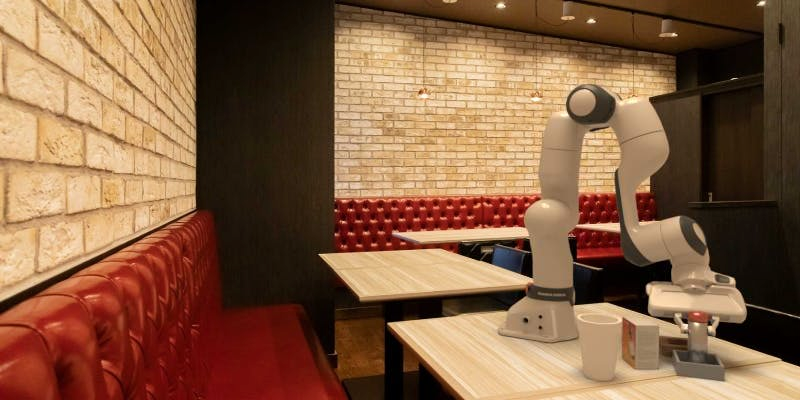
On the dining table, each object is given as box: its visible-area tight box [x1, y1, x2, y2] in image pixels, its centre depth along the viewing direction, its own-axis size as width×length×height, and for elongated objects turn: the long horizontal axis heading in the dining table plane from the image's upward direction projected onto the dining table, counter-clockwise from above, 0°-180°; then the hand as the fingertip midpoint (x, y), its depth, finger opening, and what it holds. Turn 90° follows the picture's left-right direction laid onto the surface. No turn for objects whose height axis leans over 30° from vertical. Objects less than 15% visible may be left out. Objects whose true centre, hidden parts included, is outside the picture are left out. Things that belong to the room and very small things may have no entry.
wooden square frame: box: [659, 335, 688, 357], centre depth 133 cm, size 9×9×2 cm
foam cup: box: [576, 312, 622, 382], centre depth 117 cm, size 10×9×13 cm
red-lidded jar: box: [687, 310, 709, 364], centre depth 120 cm, size 4×4×12 cm
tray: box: [671, 350, 726, 382], centre depth 120 cm, size 9×9×3 cm
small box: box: [621, 315, 660, 370], centre depth 125 cm, size 8×6×10 cm
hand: (698, 333), depth 119 cm, fingers closed on red-lidded jar, 4 cm apart
